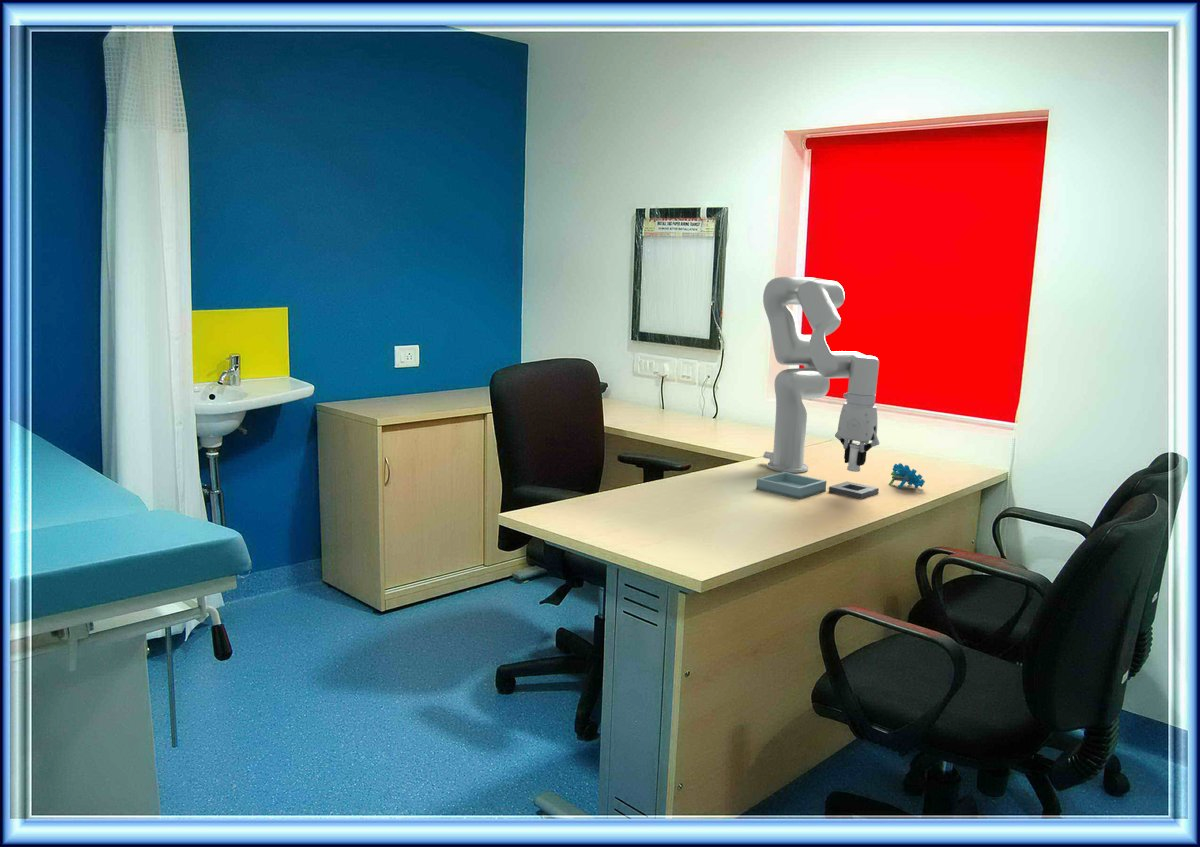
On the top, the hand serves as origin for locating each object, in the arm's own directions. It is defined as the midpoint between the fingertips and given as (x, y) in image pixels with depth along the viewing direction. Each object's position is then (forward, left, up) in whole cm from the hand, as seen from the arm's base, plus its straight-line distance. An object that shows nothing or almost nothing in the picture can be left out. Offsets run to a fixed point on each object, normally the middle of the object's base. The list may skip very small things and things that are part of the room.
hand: (854, 463), depth 254 cm
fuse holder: (+1, 0, -8) cm, 8 cm away
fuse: (0, 0, -2) cm, 2 cm away
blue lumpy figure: (+7, +18, -9) cm, 21 cm away
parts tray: (-12, -12, -8) cm, 19 cm away
